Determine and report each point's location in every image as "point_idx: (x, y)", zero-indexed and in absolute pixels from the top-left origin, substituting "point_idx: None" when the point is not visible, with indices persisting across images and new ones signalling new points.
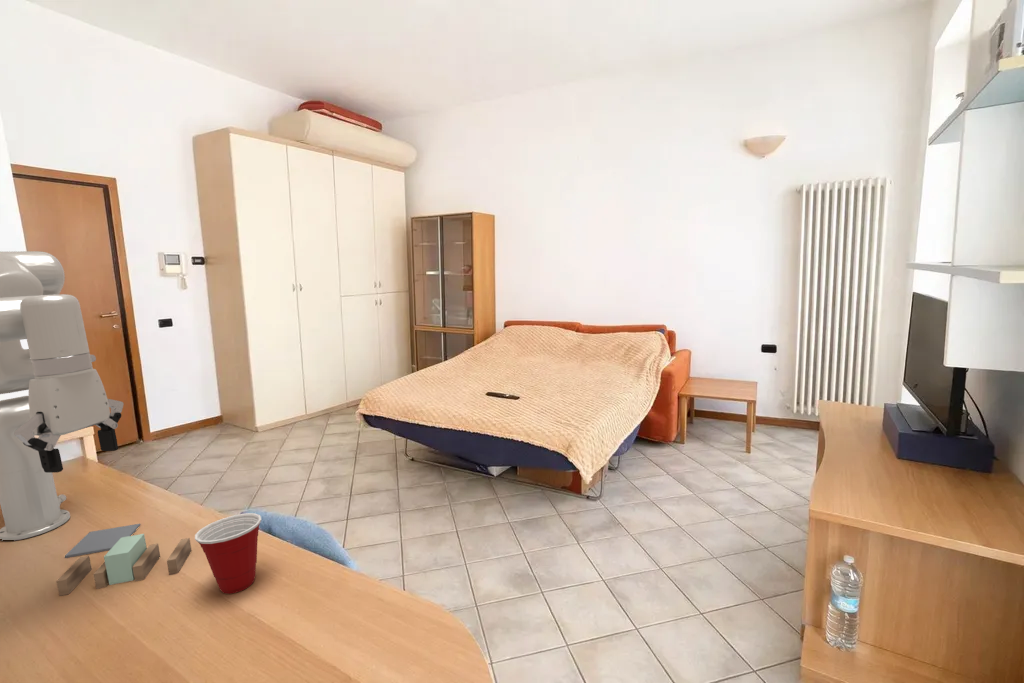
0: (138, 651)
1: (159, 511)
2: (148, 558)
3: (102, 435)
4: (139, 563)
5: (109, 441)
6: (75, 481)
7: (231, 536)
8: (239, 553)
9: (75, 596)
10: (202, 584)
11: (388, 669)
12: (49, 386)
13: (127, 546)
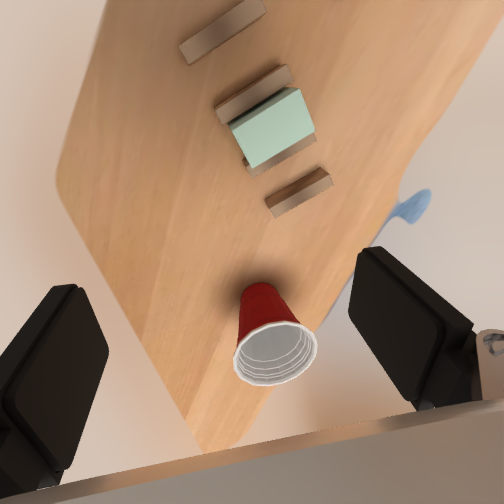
0: (144, 289)
1: None
2: (275, 163)
3: (408, 333)
4: (256, 169)
5: (374, 336)
6: None
7: (248, 381)
8: (253, 354)
9: (188, 89)
10: (252, 260)
11: (195, 432)
12: None
13: (269, 144)
